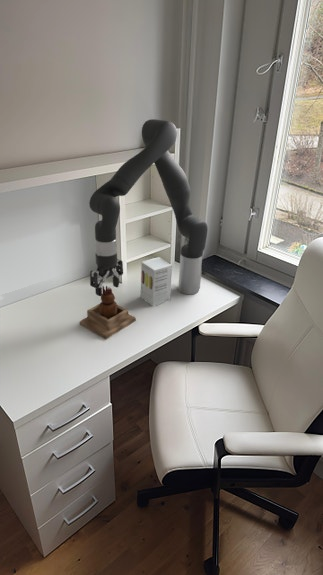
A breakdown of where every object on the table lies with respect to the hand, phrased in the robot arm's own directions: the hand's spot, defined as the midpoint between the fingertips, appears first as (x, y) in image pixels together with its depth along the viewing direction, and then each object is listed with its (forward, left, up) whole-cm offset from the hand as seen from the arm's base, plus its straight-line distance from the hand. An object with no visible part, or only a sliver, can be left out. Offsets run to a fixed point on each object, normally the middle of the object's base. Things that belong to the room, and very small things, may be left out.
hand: (107, 291), depth 150 cm
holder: (0, 0, -14) cm, 14 cm away
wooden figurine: (0, 0, -12) cm, 12 cm away
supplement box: (-26, +2, -14) cm, 30 cm away
